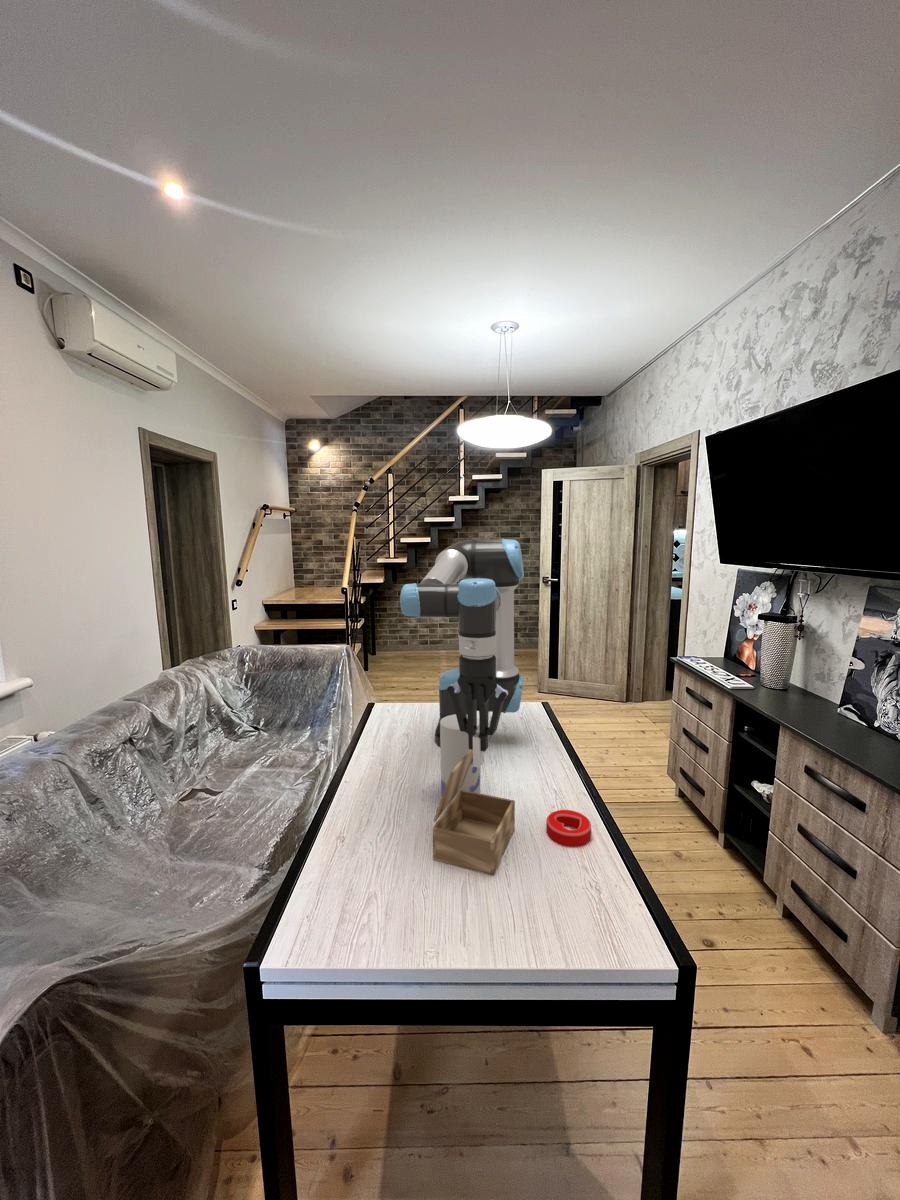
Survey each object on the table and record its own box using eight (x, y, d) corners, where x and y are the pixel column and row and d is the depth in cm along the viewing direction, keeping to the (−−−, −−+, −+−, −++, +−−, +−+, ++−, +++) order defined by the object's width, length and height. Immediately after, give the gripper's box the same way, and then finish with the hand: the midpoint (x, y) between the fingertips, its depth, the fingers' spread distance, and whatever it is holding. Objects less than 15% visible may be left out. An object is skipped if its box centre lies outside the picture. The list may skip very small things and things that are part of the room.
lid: (462, 786, 112) (459, 784, 113) (478, 741, 109) (476, 740, 110) (435, 822, 98) (432, 821, 99) (453, 773, 95) (450, 771, 95)
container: (477, 808, 118) (476, 730, 115) (437, 804, 120) (435, 727, 117) (482, 787, 127) (482, 714, 125) (445, 784, 129) (444, 712, 127)
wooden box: (461, 817, 114) (460, 789, 113) (514, 829, 109) (514, 800, 108) (432, 859, 99) (432, 828, 98) (493, 875, 94) (493, 842, 93)
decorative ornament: (598, 833, 108) (599, 820, 107) (576, 854, 101) (577, 840, 100) (561, 816, 114) (561, 804, 114) (537, 834, 107) (538, 821, 107)
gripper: (440, 656, 97) (442, 767, 101) (503, 662, 92) (503, 778, 96) (454, 648, 104) (456, 751, 107) (513, 653, 99) (513, 761, 103)
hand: (478, 764), depth 102 cm, fingers closed
